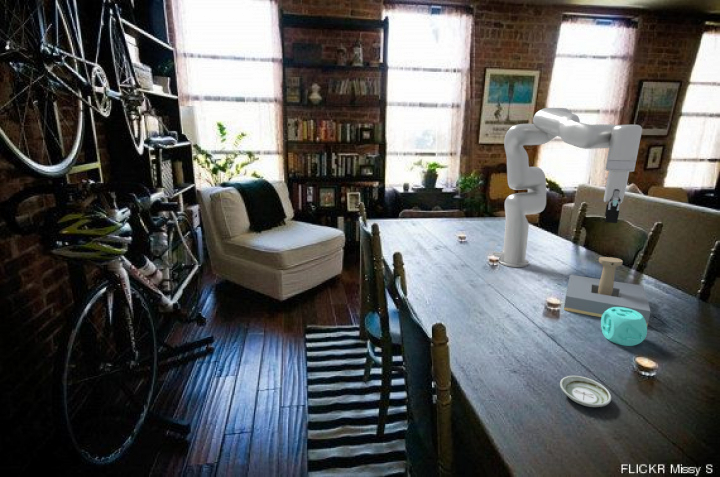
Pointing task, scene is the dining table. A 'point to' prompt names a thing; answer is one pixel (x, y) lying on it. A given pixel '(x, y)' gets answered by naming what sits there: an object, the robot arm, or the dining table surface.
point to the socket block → (604, 297)
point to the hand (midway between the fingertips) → (610, 219)
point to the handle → (608, 274)
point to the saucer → (585, 391)
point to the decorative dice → (623, 326)
